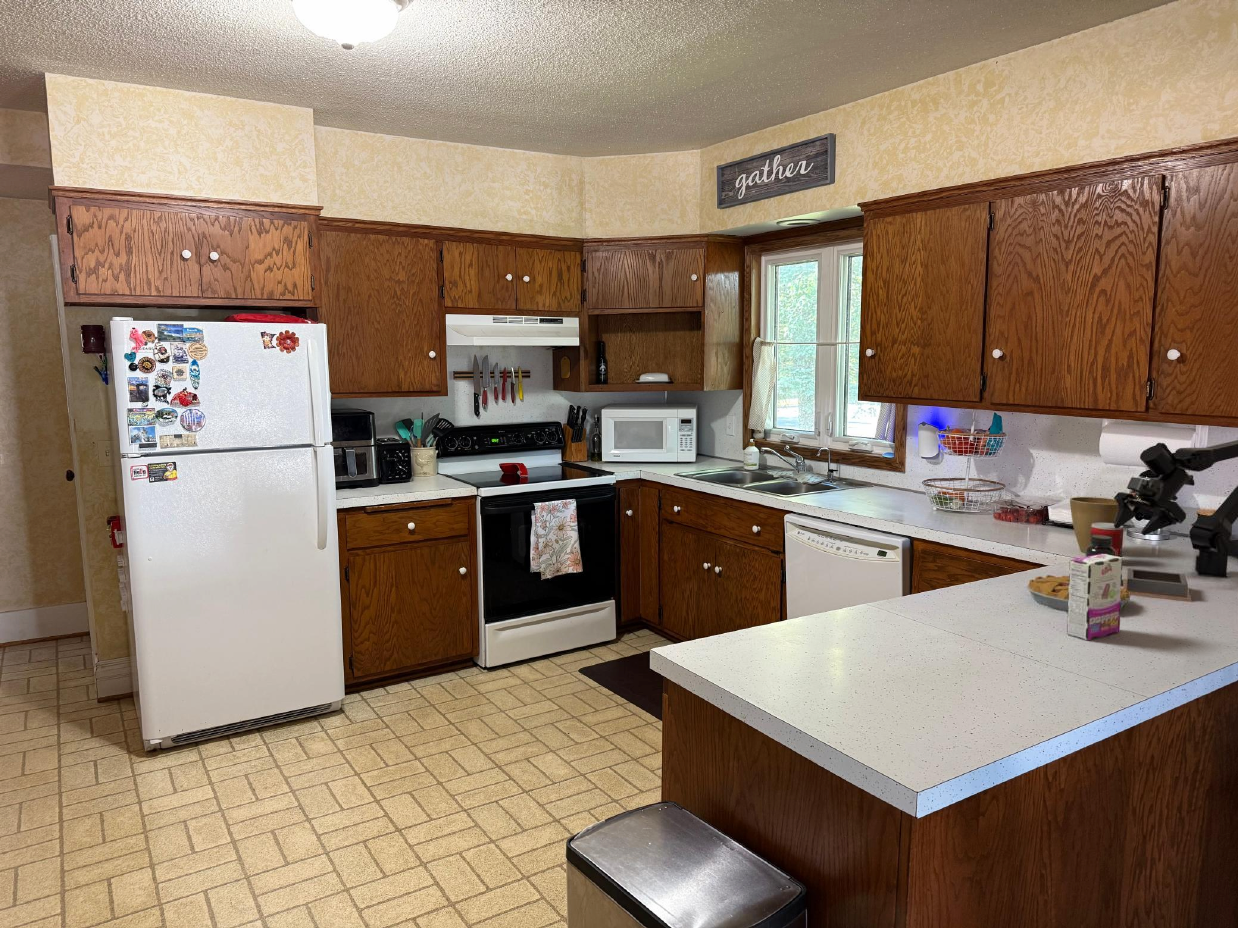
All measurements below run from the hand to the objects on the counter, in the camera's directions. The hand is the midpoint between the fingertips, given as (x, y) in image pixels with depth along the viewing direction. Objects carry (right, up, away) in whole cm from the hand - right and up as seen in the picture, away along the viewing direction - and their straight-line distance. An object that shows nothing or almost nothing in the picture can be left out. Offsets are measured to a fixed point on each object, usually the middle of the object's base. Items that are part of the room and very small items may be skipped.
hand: (1128, 530), depth 222 cm
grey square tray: (+1, -14, -10) cm, 17 cm away
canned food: (+6, -11, +21) cm, 24 cm away
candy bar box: (-33, -19, -43) cm, 57 cm away
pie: (-24, -16, -19) cm, 35 cm away
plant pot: (+10, -9, +34) cm, 37 cm away
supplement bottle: (-8, -14, 0) cm, 16 cm away
